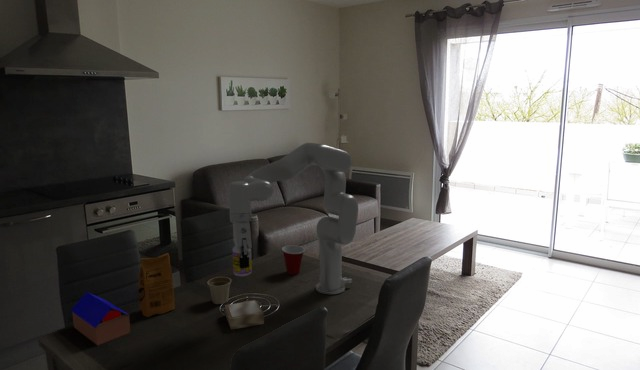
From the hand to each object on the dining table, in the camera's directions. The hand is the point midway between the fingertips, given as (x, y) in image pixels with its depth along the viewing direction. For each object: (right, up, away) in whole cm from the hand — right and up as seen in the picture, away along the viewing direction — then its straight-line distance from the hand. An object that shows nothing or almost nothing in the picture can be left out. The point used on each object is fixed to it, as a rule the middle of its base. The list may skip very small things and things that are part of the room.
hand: (242, 263), depth 162 cm
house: (-49, -23, -3) cm, 55 cm away
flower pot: (-12, -19, +19) cm, 30 cm away
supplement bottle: (0, -4, +1) cm, 4 cm away
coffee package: (-35, -20, +12) cm, 42 cm away
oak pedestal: (0, -21, +4) cm, 21 cm away
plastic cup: (+16, -13, +49) cm, 53 cm away
